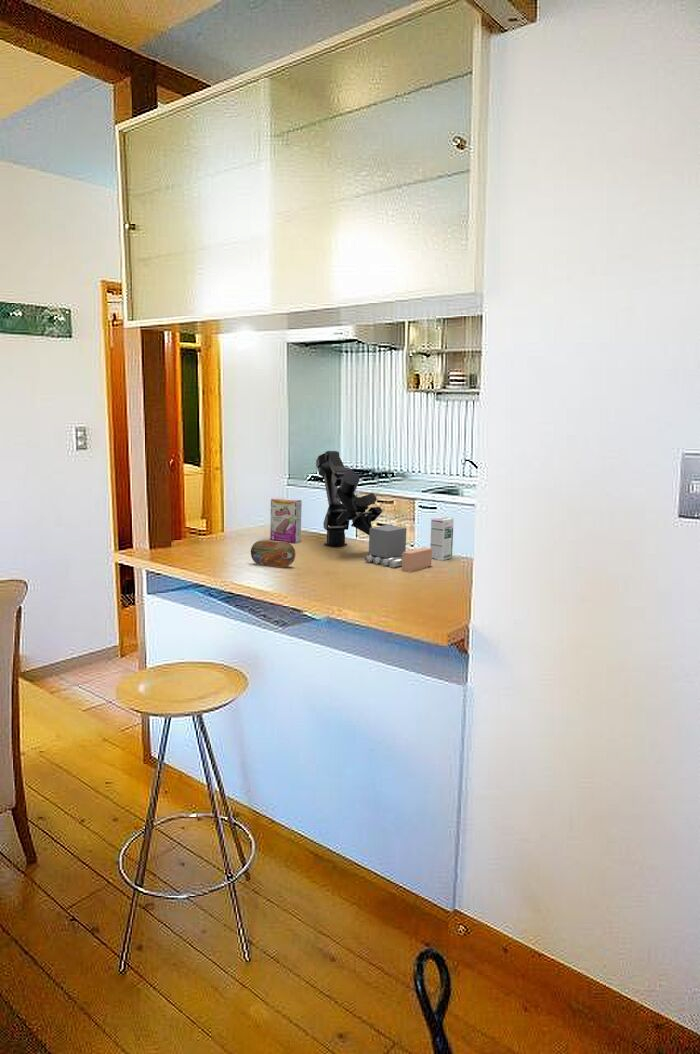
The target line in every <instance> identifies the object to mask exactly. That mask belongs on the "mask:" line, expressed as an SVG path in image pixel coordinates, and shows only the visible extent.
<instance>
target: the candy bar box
mask: <svg viewBox="0 0 700 1054" xmlns="http://www.w3.org/2000/svg"><path fill="white" fill-rule="evenodd" d="M302 505H303V504H302V499H295V498H288V497H287V498H284V497H274V498H273V497H272V498H271V499H270V533H269V534H270V535H269V536H270V537H269V538H270V539H269V541H282V542H288V543H289V542H291V543H290V544H297V543H299V541H300V542H301V541H302ZM296 542H297V543H296Z"/></svg>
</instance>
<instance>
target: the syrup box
mask: <svg viewBox="0 0 700 1054" xmlns="http://www.w3.org/2000/svg"><path fill="white" fill-rule="evenodd" d="M430 521H431V522H430V546H429V548H431V549H432V559H433V558H434V560H437V559H439V561H445V560H449V559H453V545H454V543H453V542H454V540H453V538H454V518H453V517H448V516H439V517H432V518H430Z"/></svg>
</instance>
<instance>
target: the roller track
mask: <svg viewBox="0 0 700 1054" xmlns="http://www.w3.org/2000/svg"><path fill="white" fill-rule="evenodd" d="M402 557H403V555H398V556H394V557H389V558H385V557H380V556H375V555H371V554H368V555H365V558H364V559H365V560H364V561H365V562H366V563H368V562H369V563H372V561H373V564H374V565H379V563H380V564H381V566H382V565H383V567H386V566H389V567H390V568H391V567H392V568H391V569H394V568H397V567H402Z"/></svg>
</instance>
